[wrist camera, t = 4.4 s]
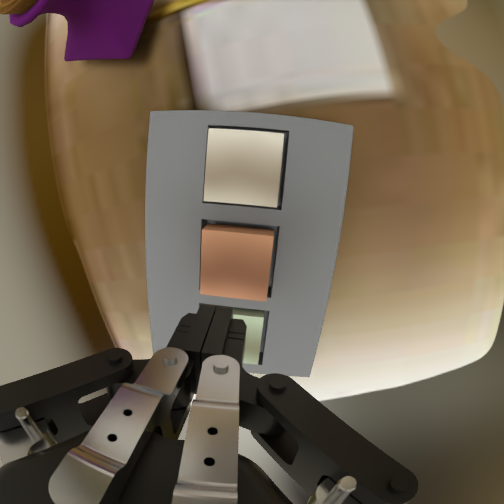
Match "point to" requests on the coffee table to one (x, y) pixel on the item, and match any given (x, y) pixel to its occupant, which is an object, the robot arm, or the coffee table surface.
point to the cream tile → (243, 167)
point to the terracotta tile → (236, 261)
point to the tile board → (278, 219)
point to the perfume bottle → (89, 24)
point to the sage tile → (250, 331)
